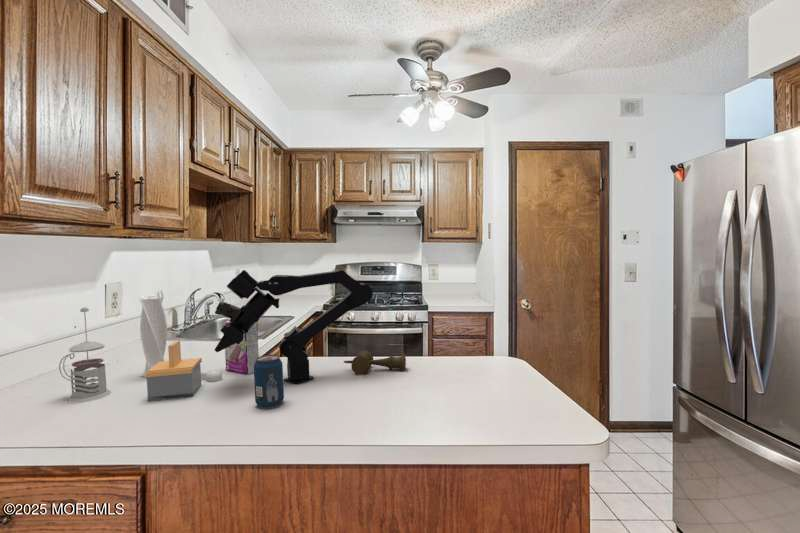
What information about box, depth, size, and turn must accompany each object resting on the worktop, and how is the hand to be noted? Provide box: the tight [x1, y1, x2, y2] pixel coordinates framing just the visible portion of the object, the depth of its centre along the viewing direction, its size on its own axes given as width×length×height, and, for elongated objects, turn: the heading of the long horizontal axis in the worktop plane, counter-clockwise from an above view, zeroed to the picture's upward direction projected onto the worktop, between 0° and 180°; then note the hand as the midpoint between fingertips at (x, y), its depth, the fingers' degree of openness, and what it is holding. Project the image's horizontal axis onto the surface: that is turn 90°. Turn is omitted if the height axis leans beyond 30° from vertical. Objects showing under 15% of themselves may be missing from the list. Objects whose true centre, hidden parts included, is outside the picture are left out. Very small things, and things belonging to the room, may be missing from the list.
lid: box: [146, 340, 203, 377], centre depth 115 cm, size 11×12×7 cm
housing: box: [146, 362, 202, 402], centre depth 116 cm, size 11×10×7 cm
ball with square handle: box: [201, 369, 223, 383], centre depth 127 cm, size 7×4×2 cm, turn 72°
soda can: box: [253, 354, 285, 410], centre depth 104 cm, size 7×7×12 cm
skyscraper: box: [139, 290, 168, 379], centre depth 133 cm, size 8×8×28 cm
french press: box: [58, 306, 112, 403], centre depth 115 cm, size 10×12×25 cm
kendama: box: [343, 350, 407, 376], centre depth 131 cm, size 6×10×20 cm
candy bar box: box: [223, 320, 260, 375], centre depth 135 cm, size 11×5×16 cm, turn 59°
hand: (215, 351), depth 118 cm, fingers closed
